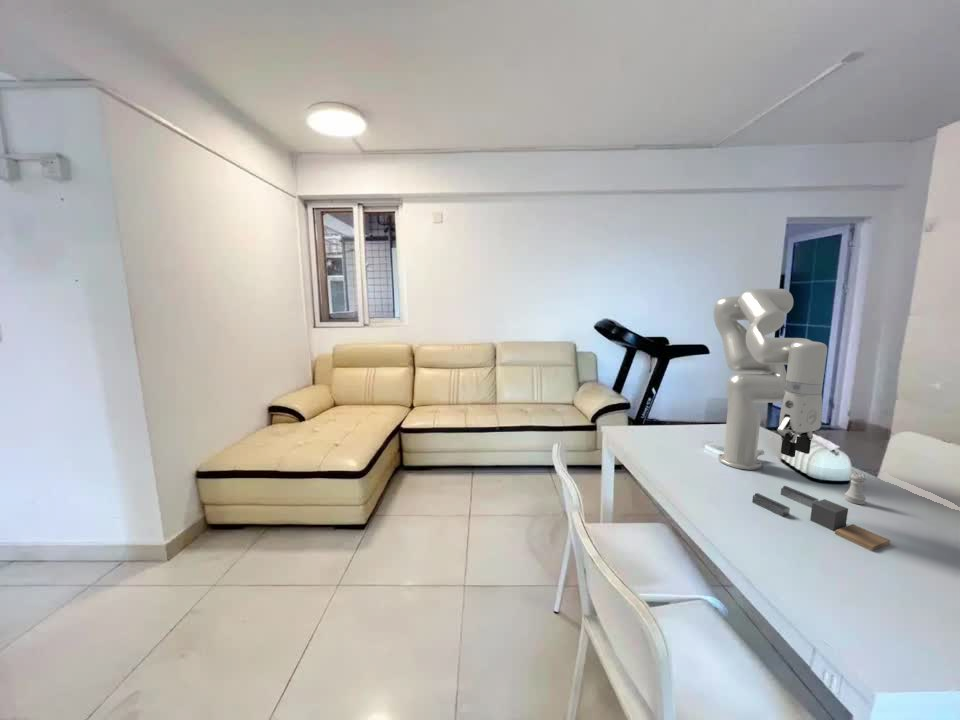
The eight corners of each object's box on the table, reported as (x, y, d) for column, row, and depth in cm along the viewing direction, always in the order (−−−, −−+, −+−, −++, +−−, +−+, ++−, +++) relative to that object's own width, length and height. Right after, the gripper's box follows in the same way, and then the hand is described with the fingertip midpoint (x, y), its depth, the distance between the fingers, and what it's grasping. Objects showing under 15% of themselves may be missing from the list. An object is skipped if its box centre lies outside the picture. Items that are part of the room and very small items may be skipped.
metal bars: (786, 492, 114) (787, 485, 114) (817, 506, 107) (818, 498, 106) (752, 502, 109) (753, 494, 109) (782, 516, 102) (783, 508, 101)
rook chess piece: (861, 499, 110) (865, 472, 109) (868, 506, 106) (873, 479, 105) (840, 495, 112) (844, 469, 111) (847, 503, 108) (851, 476, 107)
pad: (852, 527, 96) (852, 524, 96) (889, 544, 90) (890, 540, 90) (834, 533, 94) (835, 530, 94) (871, 551, 88) (872, 547, 87)
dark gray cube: (822, 516, 102) (824, 499, 101) (845, 527, 97) (848, 508, 96) (810, 520, 100) (812, 502, 99) (833, 531, 95) (835, 512, 95)
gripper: (797, 394, 95) (789, 463, 98) (840, 388, 101) (831, 454, 104) (766, 388, 102) (759, 453, 105) (807, 382, 108) (800, 444, 111)
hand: (795, 452), depth 104 cm, fingers open, 5 cm apart
